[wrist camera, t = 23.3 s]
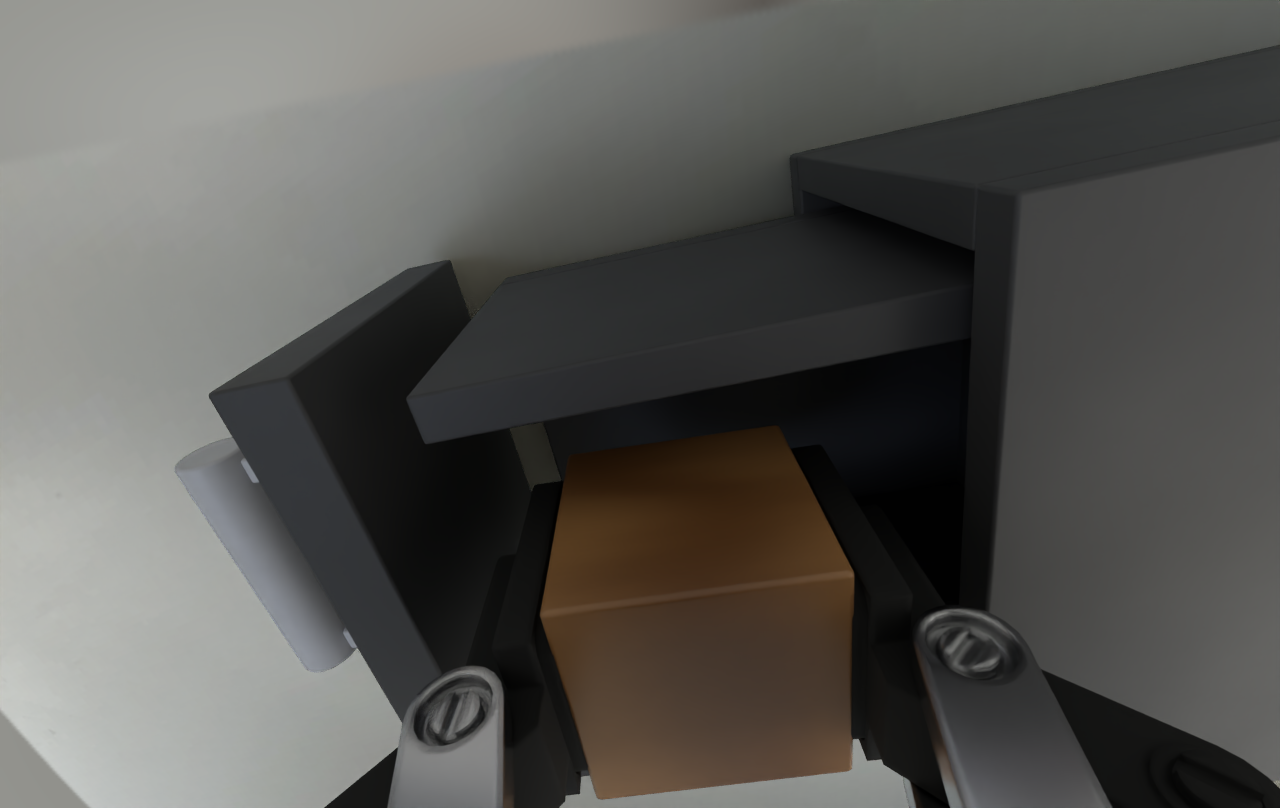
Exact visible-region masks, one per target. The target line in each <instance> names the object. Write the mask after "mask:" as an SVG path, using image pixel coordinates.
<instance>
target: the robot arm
mask: <svg viewBox="0 0 1280 808" xmlns="http://www.w3.org/2000/svg"><path fill="white" fill-rule="evenodd" d="M791 451H792V453H793V455H794V457H795V458H796V460H797V462H798V464H799V466H800V468H801V470H802V472H803V474H804V476H805V478H806V480H807V482H808V484H809V486H810V488H811V490H812V492H813V494H814V496H815V498H816V500H817V502H818V503H819V505H820V507H821V509H822V511H823V513H824V515H825V517H826V519H827V521H828V523H829V525H830V527H831V529H832V531H833V533H834V535H835V537H836V539H837V541H838V543H839V545H840V546H841V548H842V550H843V552H844V554H845V556H846V558H847V560H848V562H849V564H850V566H851V568H852V570H853V572H854V615H853V618H852V692H851V736H852V739H859V741H860V743H861V746H862V749H863V751H864V754H865V756H866V759H867V761H870V760H879V759H882V761H883V764H884V765H885V766H887V767H889V768H890V769H892V770H893V771H895V772H897V773H898V774H900V775H901V776H903V783H904V787H905V792H906V796H907V801H908V805H909V808H1280V789H1279V788H1278V787H1277V786H1276V785H1275V784H1274V783H1273V782H1272V781H1271V780H1270V779H1269V778H1268V777H1267V776H1266V775H1264V774H1263V773H1262V772H1260V771H1259V770H1257V769H1256V768H1255V767H1253V766H1252V765H1251V764H1249V763H1248V762H1247V761H1245V760H1244V759H1242V758H1240V757H1238V756H1236V755H1234V754H1232V753H1230V752H1229V751H1227V750H1225V749H1223V748H1221V747H1219V746H1217V745H1215V744H1212V743H1210V742H1208V741H1205V740H1203V739H1201V738H1199V737H1196V736H1194V735H1192V734H1189V733H1187V732H1185V731H1182V730H1180V729H1178V728H1176V727H1173V726H1171V725H1169V724H1166V723H1164V722H1162V721H1159V720H1157V719H1155V718H1153V717H1150V716H1148V715H1146V714H1143V713H1141V712H1139V711H1136V710H1134V709H1132V708H1130V707H1127V706H1125V705H1123V704H1120V703H1118V702H1116V701H1113V700H1111V699H1109V698H1107V697H1104V696H1102V695H1100V694H1097V693H1095V692H1093V691H1090V690H1088V689H1086V688H1084V687H1081V686H1079V685H1077V684H1074V683H1072V682H1070V681H1067V680H1065V679H1063V678H1061V677H1058V676H1056V675H1054V674H1051V673H1049V672H1047V671H1044V670H1042V669H1040V667H1039V665H1038V663H1037V661H1036V659H1035V657H1034V655H1033V653H1032V651H1031V649H1030V647H1029V646H1028V644H1027V643H1026V641H1025V640H1024V639H1023V637H1022V636H1021V635H1020V633H1019V632H1018V631H1017V630H1015V629H1014V628H1013V627H1012V626H1011V625H1009V624H1008V623H1007V622H1006V621H1004V620H1002V619H1000V618H999V617H997V616H995V615H993V614H991V613H989V612H987V611H983V610H980V609H977V608H974V607H970V606H962V605H945V603H944V602H943V600H942V599H941V597H940V596H939V594H938V593H937V591H936V590H935V588H934V587H933V585H932V584H931V582H930V581H929V579H928V578H927V576H926V575H925V573H924V572H923V570H922V569H921V567H920V566H919V564H918V563H917V561H916V560H915V558H914V557H913V555H912V554H911V552H910V551H909V549H908V548H907V546H906V545H905V543H904V542H903V540H902V539H901V537H900V536H899V534H898V533H897V531H896V530H895V528H894V527H893V525H892V524H891V522H890V521H889V519H888V518H887V516H886V515H885V513H884V512H883V511H882V509H881V508H880V507H879V506H877V505H869V506H862V507H859V505H858V504H857V502H856V500H855V499H854V497H853V496H852V494H851V492H850V491H849V489H848V487H847V486H846V484H845V482H844V481H843V479H842V478H841V476H840V474H839V473H838V471H837V469H836V468H835V466H834V465H833V463H832V461H831V460H830V458H829V456H828V455H827V453H826V451H825V450H824V448H823V447H822V446H821V445H820V444H818V445H811V446H804V447H797V448H792V449H791ZM563 483H564V482H563V481H558V482H551V483H544V484H537V485H534V488H533V491H532V495H531V499H530V503H529V506H528V510H527V514H526V518H525V522H524V525H523V529H522V533H521V537H520V541H519V545H518V548H517V552H516V554H510V555H503V556H501V557H500V558H499V559H498V561H497V563H496V566H495V570H494V573H493V576H492V580H491V583H490V586H489V590H488V593H487V596H486V600H485V603H484V606H483V610H482V613H481V616H480V619H479V623H478V626H477V629H476V633H475V636H474V639H473V643H472V646H471V649H470V653H469V656H468V659H467V663H466V666H465V667H458V668H455V669H453V670H450V671H448V672H445V673H443V674H441V675H440V676H438V677H437V678H435V679H434V680H432V681H431V682H429V683H428V684H427V685H426V686H425V687H424V688H423V689H422V690H421V691H420V692H419V693H418V694H417V695H416V697H415V698H414V700H413V701H412V703H411V704H410V706H409V707H408V709H407V712H406V715H405V718H404V721H403V724H402V730H401V735H400V740H399V746H398V748H396V749H395V750H394V751H393V752H392V753H390V754H389V755H388V756H387V757H386V758H384V759H383V760H382V761H381V762H379V763H378V764H377V765H376V766H375V767H373V768H372V769H371V770H370V771H368V772H367V773H366V774H365V775H364V776H362V777H361V778H360V779H359V780H357V781H356V782H355V783H354V784H353V785H351V786H350V787H349V788H348V789H347V790H345V791H344V792H343V793H342V794H340V795H339V796H338V797H337V798H336V799H334V800H333V801H332V802H331V803H329V804H328V805H327V806H326V807H325V808H559V807H560V806H561V805H562V804H563V803H564V802H565V796H566V795H574V794H580V783H581V771H586V770H588V765H587V762H586V759H585V756H584V752H583V749H582V746H581V743H580V739H579V736H578V733H577V730H576V727H575V723H574V720H573V717H572V714H571V711H570V707H569V704H568V701H567V698H566V694H565V691H564V688H563V685H562V682H561V678H560V675H559V672H558V669H557V666H556V662H555V659H554V656H553V654H552V652H551V649H550V646H549V643H548V640H547V637H546V633H545V630H544V627H543V624H542V621H541V617H540V611H541V606H542V600H543V595H544V589H545V583H546V578H547V572H548V567H549V561H550V556H551V550H552V545H553V539H554V533H555V528H556V522H557V517H558V511H559V506H560V500H561V495H562V489H563Z"/></svg>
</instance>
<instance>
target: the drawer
mask: <svg viewBox="0 0 1280 808" xmlns="http://www.w3.org/2000/svg"><path fill="white" fill-rule="evenodd" d="M974 266H975V251H972V250H969V249H966V248H963V247H960V246H957V245H955V244H952V243H949V242H946V241H943V240H941V239H938V238H935V237H932V236H929V235H927V234H924V233H921V232H918V231H915V230H913V229H910V228H907V227H904V226H901V225H898V224H896V223H893V222H890V221H887V220H884V219H882V218H879V217H876V216H873V215H870V214H868V213H865V212H862V211H859V210H856V209H853V208H851V207H848V206H845V205H842V206H838V207H833V208H829V209H824V210H819V211H815V212H810V213H805V214H801V215H796V216H791V217H787V218H782V219H778V220H773V221H768V222H764V223H759V224H754V225H750V226H745V227H740V228H736V229H731V230H727V231H722V232H717V233H713V234H708V235H703V236H699V237H694V238H689V239H685V240H680V241H676V242H671V243H666V244H662V245H657V246H652V247H648V248H643V249H638V250H634V251H629V252H625V253H620V254H615V255H611V256H606V257H601V258H597V259H592V260H587V261H583V262H578V263H574V264H569V265H564V266H560V267H555V268H550V269H546V270H541V271H536V272H532V273H527V274H523V275H518V276H513V277H509V278H506V279H505V280H504V281H503V283H502V284H501V285H500V286H499V287H498V288H497V289H496V291H495V292H494V293H493V294H492V295H491V297H490V298H489V299H488V300H487V301H486V303H485V304H484V305H483V306H482V307H481V309H480V310H479V311H478V312H477V313H476V315H475V316H474V317H473V318H472V319H470V316H469V313H468V310H467V307H466V304H465V302H464V299H463V296H462V293H461V290H460V287H459V284H458V282H457V279H456V276H455V273H454V270H453V267H452V264H451V262H450V260H445V261H441V262H436V263H431V264H427V265H422V266H418V267H413V268H409V269H406V270H405V271H403V272H402V273H400V274H399V275H397V276H395V277H394V278H392V279H391V280H389V281H387V282H386V283H384V284H383V285H381V286H379V287H378V288H376V289H375V290H373V291H371V292H370V293H368V294H367V295H365V296H363V297H362V298H360V299H359V300H357V301H356V302H354V303H352V304H351V305H349V306H348V307H346V308H344V309H343V310H341V311H340V312H338V313H336V314H335V315H333V316H332V317H330V318H328V319H327V320H325V321H324V322H322V323H321V324H319V325H317V326H316V327H314V328H313V329H311V330H309V331H308V332H306V333H305V334H303V335H301V336H300V337H298V338H297V339H295V340H293V341H292V342H290V343H289V344H287V345H285V346H284V347H282V348H281V349H279V350H278V351H276V352H274V353H273V354H271V355H270V356H268V357H266V358H265V359H263V360H262V361H260V362H258V363H257V364H255V365H254V366H252V367H250V368H249V369H247V370H246V371H244V372H242V373H241V374H239V375H238V376H236V377H235V378H233V379H231V380H230V381H228V382H227V383H225V384H223V385H222V386H220V387H219V388H217V389H215V390H214V391H212V392H211V393H210V394H209V398H210V400H211V401H212V403H213V405H214V407H215V408H216V410H217V412H218V413H219V415H220V417H221V418H222V420H223V422H224V423H225V425H226V427H227V428H228V430H229V432H230V434H231V435H232V438H227V439H223V440H220V441H217V442H214V443H211V444H209V445H206V446H204V447H202V448H200V449H198V450H196V451H194V452H192V453H190V454H189V455H187V456H186V457H184V458H183V459H182V460H180V461H179V462H178V463H177V464H176V466H175V473H176V474H177V476H178V478H179V479H180V481H181V482H182V484H183V485H184V487H185V488H186V490H187V491H188V493H189V494H190V496H191V497H192V499H193V500H194V502H195V503H196V505H197V506H198V508H199V509H200V511H201V512H202V514H203V515H204V517H205V518H206V520H207V521H208V523H209V524H210V526H211V527H212V529H213V530H214V532H215V533H216V535H217V536H218V538H219V539H220V541H221V542H222V544H223V545H224V547H225V548H226V550H227V551H228V553H229V554H230V556H231V557H232V559H233V560H234V562H235V563H236V565H237V566H238V568H239V569H240V571H241V572H242V574H243V575H244V577H245V578H246V580H247V581H248V583H249V584H250V586H251V587H252V589H253V590H254V592H255V594H256V595H257V597H258V598H259V600H260V601H261V603H262V604H263V606H264V607H265V609H266V610H267V612H268V613H269V615H270V616H271V618H272V619H273V621H274V622H275V624H276V625H277V627H278V628H279V630H280V631H281V633H282V634H283V636H284V637H285V639H286V640H287V642H288V643H289V645H290V646H291V648H292V649H293V651H294V652H295V654H296V655H297V657H298V658H299V660H300V661H301V663H302V664H303V666H304V667H305V669H307V670H309V671H311V672H323V671H326V670H329V669H332V668H334V667H336V666H337V665H339V664H340V663H342V662H343V661H345V660H346V659H347V658H348V657H349V656H350V655H351V654H352V653H353V652H354V651H355V650H356V648H358V649H359V651H360V653H361V654H362V656H363V658H364V659H365V661H366V663H367V664H368V666H369V668H370V669H371V671H372V673H373V675H374V676H375V678H376V680H377V681H378V683H379V685H380V686H381V688H382V690H383V691H384V693H385V695H386V696H387V698H388V700H389V702H390V703H391V705H392V707H393V708H394V710H395V712H396V713H397V715H398V717H399V718H400V720H401V722H402V723H403V721H404V718H405V715H406V712H407V709H408V707H409V706H410V704H411V703H412V701H413V700H414V698H415V697H416V695H417V694H418V693H419V692H420V691H421V690H422V689H423V688H424V687H425V686H426V685H427V684H428V683H429V682H431V681H432V680H434V679H435V678H437V677H438V676H440V675H441V674H443V673H445V672H448V671H450V670H453V669H455V668H458V667H465V666H466V663H467V659H468V656H469V653H470V649H471V646H472V643H473V639H474V636H475V633H476V629H477V626H478V623H479V619H480V616H481V613H482V610H483V606H484V603H485V600H486V596H487V593H488V590H489V586H490V583H491V580H492V576H493V573H494V570H495V566H496V563H497V561H498V559H499V558H500V557H501V556H503V555H510V554H516V552H517V548H518V545H519V541H520V537H521V533H522V529H523V525H524V522H525V518H526V514H527V510H528V506H529V503H530V499H531V495H532V493H531V490H530V487H529V484H528V481H527V479H526V476H525V473H524V470H523V467H522V464H521V461H520V459H519V456H518V453H517V450H516V447H515V444H514V441H513V439H512V436H511V433H510V430H509V428H513V427H518V426H524V425H529V424H534V423H539V422H543V424H544V427H545V430H546V433H547V436H548V439H549V443H550V446H551V449H552V452H553V455H554V458H555V461H556V465H557V468H558V471H559V474H560V477H561V480H562V481H563V482H564V478H565V472H566V467H567V461H568V457H569V456H570V455H572V454H579V453H586V452H592V451H599V450H606V449H613V448H620V447H627V446H634V445H641V444H648V443H655V442H662V441H668V440H675V439H682V438H689V437H696V436H703V435H710V434H717V433H724V432H731V431H738V430H745V429H751V428H758V427H765V426H772V425H777V426H779V427H780V429H781V431H782V433H783V435H784V437H785V439H786V441H787V443H788V445H789V447H790V449H792V448H797V447H804V446H811V445H818V444H820V445H821V446H822V447H823V448H824V450H825V451H826V453H827V455H828V456H829V458H830V460H831V461H832V463H833V465H834V466H835V468H836V469H837V471H838V473H839V474H840V476H841V478H842V479H843V481H844V482H845V484H846V486H847V487H848V489H849V491H850V492H851V494H852V496H853V497H854V499H855V500H856V502H857V504H858V505H859V507H862V506H869V505H877V506H879V507H880V508H881V509H882V511H883V512H884V513H885V515H886V516H887V518H888V519H889V521H890V522H891V524H892V525H893V527H894V528H895V530H896V531H897V533H898V534H899V536H900V537H901V539H902V540H903V542H904V543H905V545H906V546H907V548H908V549H909V551H910V552H911V554H912V555H913V557H914V558H915V560H916V561H917V563H918V564H919V566H920V567H921V569H922V570H923V572H924V573H925V575H926V576H927V578H928V579H929V581H930V582H931V584H932V585H933V587H934V588H935V590H936V591H937V593H938V594H939V596H940V597H941V599H942V600H943V602H944V603H945V605H959V594H960V572H961V550H962V529H963V507H964V485H965V463H966V441H967V419H968V397H969V375H970V353H971V331H972V310H973V288H974ZM589 775H590V774H589V771H588V770H586V771H581V777H582V776H589Z"/></svg>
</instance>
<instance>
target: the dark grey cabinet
mask: <svg viewBox="0 0 1280 808" xmlns="http://www.w3.org/2000/svg"><path fill="white" fill-rule="evenodd" d="M790 170H791V181H792V193H793V204H794V215H795V216H796V215H801V214H805V213H810V212H815V211H819V210H824V209H829V208H833V207H838V206H842V205H845V206H848V207H851V208H853V209H856V210H859V211H862V212H865V213H868V214H870V215H873V216H876V217H879V218H882V219H884V220H887V221H890V222H893V223H896V224H898V225H901V226H904V227H907V228H910V229H913V230H915V231H918V232H921V233H924V234H927V235H929V236H932V237H935V238H938V239H941V240H943V241H946V242H949V243H952V244H955V245H957V246H960V247H963V248H966V249H969V250H972V251H975V266H974V288H973V310H972V331H971V353H970V375H969V397H968V419H967V441H966V463H965V485H964V507H963V529H962V550H961V572H960V594H959V605H962V606H970V607H974V608H977V609H980V610H983V611H987V612H989V613H991V614H993V615H995V616H997V617H999V618H1000V619H1002V620H1004V621H1006V622H1007V623H1008V624H1009V625H1011V626H1012V627H1013V628H1014V629H1015V630H1017V631H1018V632H1019V633H1020V635H1021V636H1022V637H1023V639H1024V640H1025V641H1026V643H1027V644H1028V646H1029V647H1030V649H1031V651H1032V653H1033V655H1034V657H1035V659H1036V661H1037V663H1038V665H1039V667H1040V669H1042V670H1044V671H1047V672H1049V673H1051V674H1054V675H1056V676H1058V677H1061V678H1063V679H1065V680H1067V681H1070V682H1072V683H1074V684H1077V685H1079V686H1081V687H1084V688H1086V689H1088V690H1090V691H1093V692H1095V693H1097V694H1100V695H1102V696H1104V697H1107V698H1109V699H1111V700H1113V701H1116V702H1118V703H1120V704H1123V705H1125V706H1127V707H1130V708H1132V709H1134V710H1136V711H1139V712H1141V713H1143V714H1146V715H1148V716H1150V717H1153V718H1155V719H1157V720H1159V721H1162V722H1164V723H1166V724H1169V725H1171V726H1173V727H1176V728H1178V729H1180V730H1182V731H1185V732H1187V733H1189V734H1192V735H1194V736H1196V737H1199V738H1201V739H1203V740H1205V741H1208V742H1210V743H1212V744H1215V745H1217V746H1219V747H1221V748H1223V749H1225V750H1227V751H1229V752H1230V753H1232V754H1234V755H1236V756H1238V757H1240V758H1242V759H1244V760H1245V761H1247V762H1248V763H1249V764H1251V765H1252V766H1253V767H1255V768H1256V769H1257V770H1259V771H1260V772H1262V773H1263V774H1264V775H1266V776H1267V777H1268V778H1269V779H1270V780H1271V781H1279V780H1280V45H1278V46H1273V47H1269V48H1264V49H1260V50H1255V51H1251V52H1246V53H1242V54H1237V55H1233V56H1228V57H1224V58H1219V59H1215V60H1210V61H1206V62H1202V63H1197V64H1193V65H1188V66H1184V67H1179V68H1175V69H1170V70H1166V71H1161V72H1157V73H1152V74H1148V75H1143V76H1139V77H1135V78H1130V79H1126V80H1121V81H1117V82H1112V83H1108V84H1103V85H1099V86H1094V87H1090V88H1085V89H1081V90H1076V91H1072V92H1068V93H1063V94H1059V95H1054V96H1050V97H1045V98H1041V99H1036V100H1032V101H1027V102H1023V103H1018V104H1014V105H1009V106H1005V107H1000V108H996V109H992V110H987V111H983V112H978V113H974V114H969V115H965V116H960V117H956V118H951V119H947V120H942V121H938V122H933V123H929V124H925V125H920V126H916V127H911V128H907V129H902V130H898V131H893V132H889V133H884V134H880V135H875V136H871V137H866V138H862V139H858V140H853V141H849V142H844V143H840V144H835V145H831V146H826V147H822V148H817V149H813V150H808V151H804V152H799V153H795V154H792V155H791V156H790Z"/></svg>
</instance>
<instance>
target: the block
mask: <svg viewBox="0 0 1280 808" xmlns="http://www.w3.org/2000/svg"><path fill="white" fill-rule="evenodd" d="M853 615H854V572H853V570H852V568H851V566H850V564H849V562H848V560H847V558H846V556H845V554H844V552H843V550H842V548H841V546H840V545H839V543H838V541H837V539H836V537H835V535H834V533H833V531H832V529H831V527H830V525H829V523H828V521H827V519H826V517H825V515H824V513H823V511H822V509H821V507H820V505H819V503H818V502H817V500H816V498H815V496H814V494H813V492H812V490H811V488H810V486H809V484H808V482H807V480H806V478H805V476H804V474H803V472H802V470H801V468H800V466H799V464H798V462H797V460H796V458H795V457H794V455H793V453H792V451H791V449H790V447H789V445H788V443H787V441H786V439H785V437H784V435H783V433H782V431H781V429H780V427H779V426H777V425H772V426H765V427H758V428H751V429H745V430H738V431H731V432H724V433H717V434H710V435H703V436H696V437H689V438H682V439H675V440H668V441H662V442H655V443H648V444H641V445H634V446H627V447H620V448H613V449H606V450H599V451H592V452H586V453H579V454H572V455H570V456H569V457H568V461H567V467H566V472H565V478H564V483H563V489H562V495H561V500H560V506H559V511H558V517H557V522H556V528H555V533H554V539H553V545H552V550H551V556H550V561H549V567H548V572H547V578H546V583H545V589H544V595H543V600H542V606H541V611H540V617H541V621H542V624H543V627H544V630H545V633H546V637H547V640H548V643H549V646H550V649H551V652H552V654H553V656H554V659H555V662H556V666H557V669H558V672H559V675H560V678H561V682H562V685H563V688H564V691H565V694H566V698H567V701H568V704H569V707H570V711H571V714H572V717H573V720H574V723H575V727H576V730H577V733H578V736H579V739H580V743H581V746H582V749H583V752H584V756H585V759H586V762H587V765H588V771H589V774H590V778H591V781H592V784H593V787H594V790H595V794H596V796H597V798H598V799H610V798H619V797H628V796H636V795H645V794H654V793H662V792H671V791H680V790H689V789H697V788H706V787H715V786H723V785H732V784H741V783H750V782H758V781H767V780H776V779H784V778H793V777H802V776H810V775H819V774H828V773H837V772H845V771H849V770H851V769H852V752H853V739H852V736H851V692H852V618H853Z"/></svg>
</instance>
